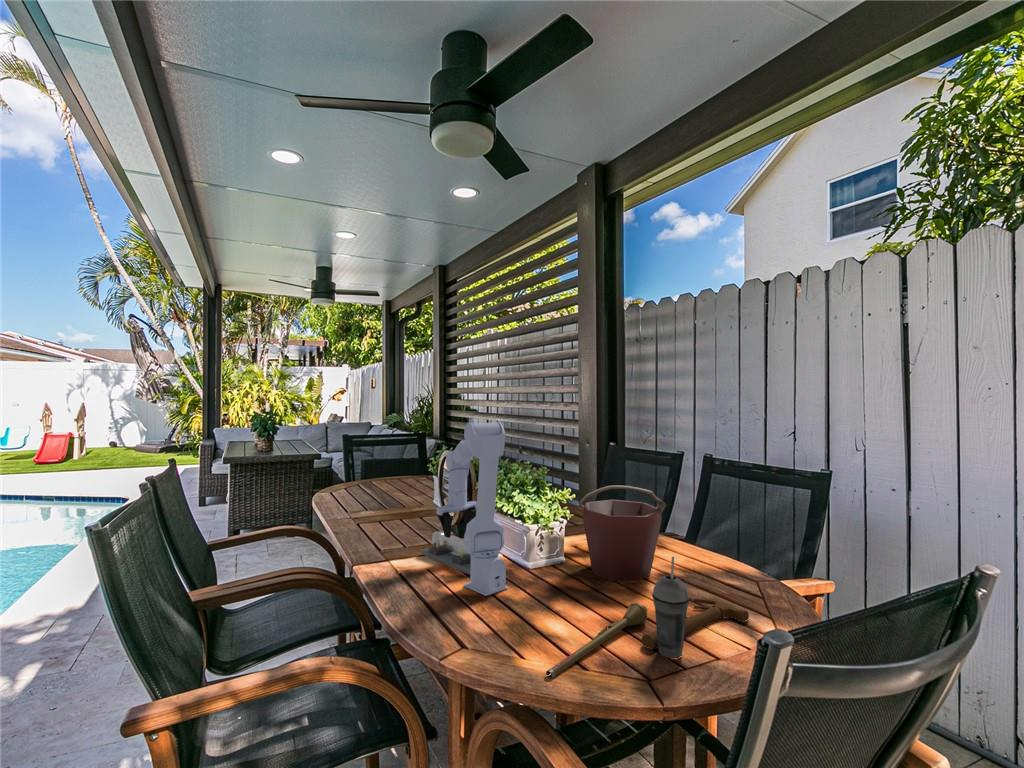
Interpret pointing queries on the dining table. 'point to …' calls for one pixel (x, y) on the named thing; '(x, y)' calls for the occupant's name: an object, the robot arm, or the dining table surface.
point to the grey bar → (449, 543)
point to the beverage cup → (670, 614)
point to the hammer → (701, 618)
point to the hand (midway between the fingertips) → (457, 534)
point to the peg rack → (449, 558)
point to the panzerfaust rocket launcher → (603, 636)
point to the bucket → (621, 535)
